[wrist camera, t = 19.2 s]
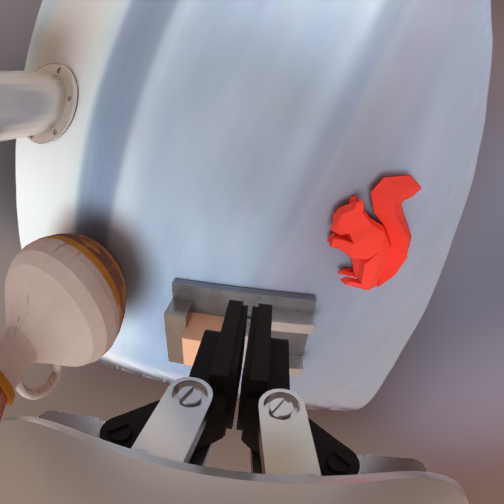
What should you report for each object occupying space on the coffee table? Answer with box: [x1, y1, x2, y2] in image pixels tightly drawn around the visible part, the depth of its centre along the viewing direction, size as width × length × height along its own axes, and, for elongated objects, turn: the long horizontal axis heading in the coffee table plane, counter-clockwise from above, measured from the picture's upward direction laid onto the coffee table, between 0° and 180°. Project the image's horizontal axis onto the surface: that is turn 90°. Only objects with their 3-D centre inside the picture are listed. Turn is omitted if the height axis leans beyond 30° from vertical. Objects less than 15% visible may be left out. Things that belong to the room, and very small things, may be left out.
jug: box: [0, 234, 127, 420], centre depth 30 cm, size 20×18×30 cm
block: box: [182, 312, 224, 366], centre depth 41 cm, size 5×5×6 cm
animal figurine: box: [327, 175, 422, 290], centre depth 35 cm, size 12×15×5 cm
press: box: [164, 278, 316, 376], centre depth 42 cm, size 20×14×6 cm
